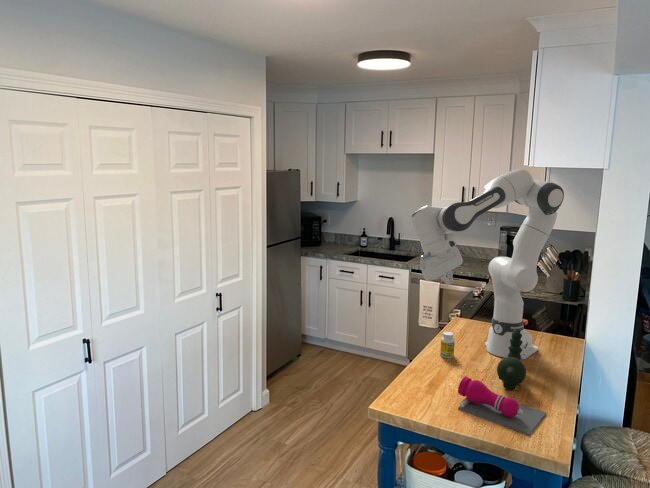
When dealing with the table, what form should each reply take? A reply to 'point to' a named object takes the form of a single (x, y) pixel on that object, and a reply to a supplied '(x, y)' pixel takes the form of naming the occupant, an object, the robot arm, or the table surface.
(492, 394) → the magenta bowling pin
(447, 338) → the supplement bottle
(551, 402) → the table surface
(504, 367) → the toy figurine
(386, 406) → the table surface
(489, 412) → the grey rectangular board
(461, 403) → the grey stop strip
